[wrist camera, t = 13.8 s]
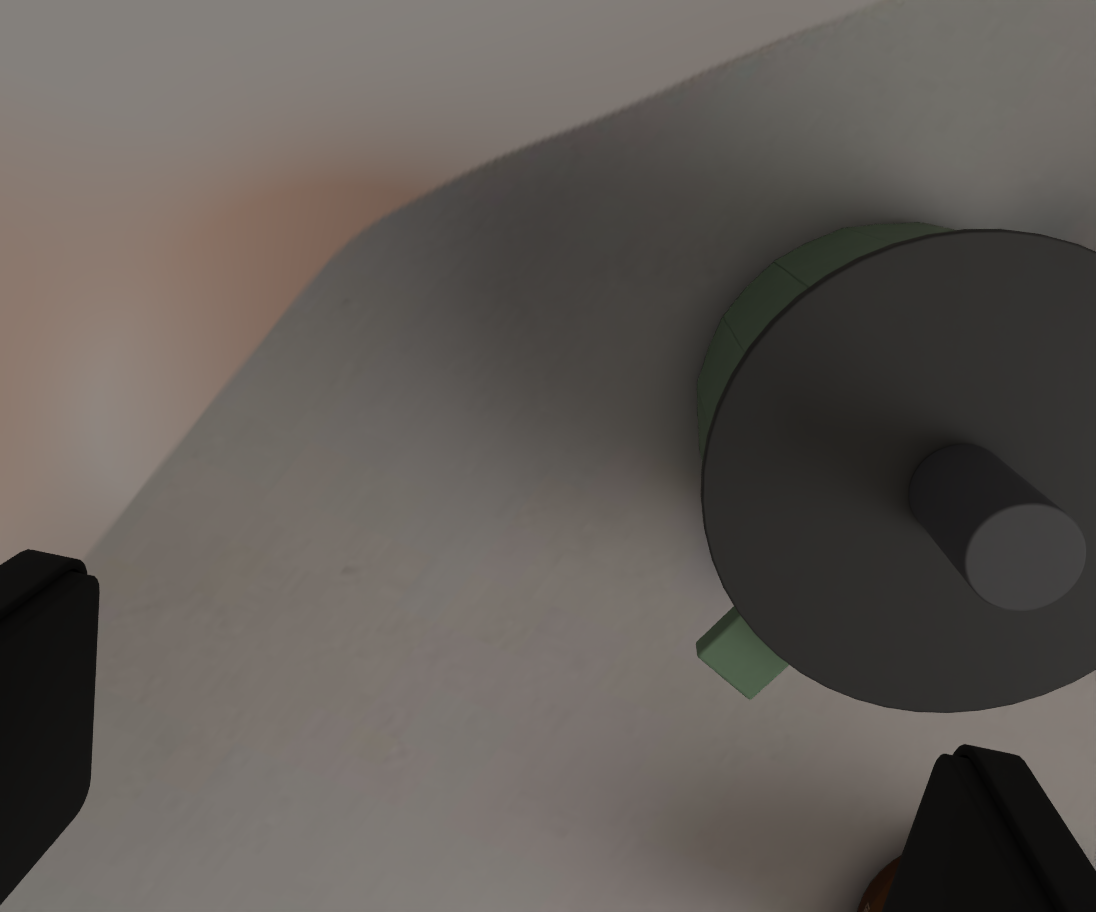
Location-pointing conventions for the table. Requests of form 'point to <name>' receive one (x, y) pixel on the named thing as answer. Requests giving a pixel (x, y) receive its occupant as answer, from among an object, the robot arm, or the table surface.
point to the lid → (918, 474)
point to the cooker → (731, 637)
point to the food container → (878, 889)
